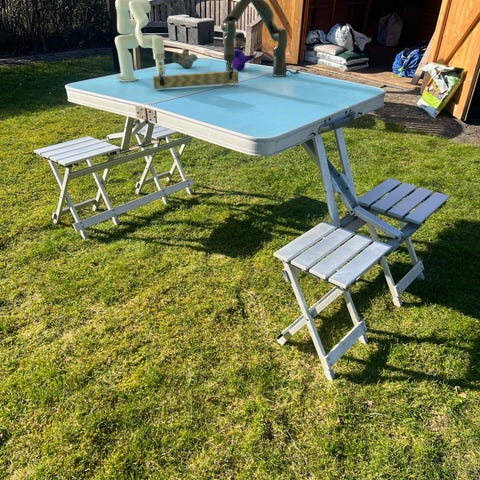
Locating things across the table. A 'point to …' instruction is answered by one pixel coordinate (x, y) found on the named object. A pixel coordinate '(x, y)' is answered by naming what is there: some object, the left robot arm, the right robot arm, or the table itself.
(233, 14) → the right robot arm
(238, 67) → the toy
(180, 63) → the teapot
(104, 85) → the table surface
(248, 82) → the table surface
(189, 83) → the bar
